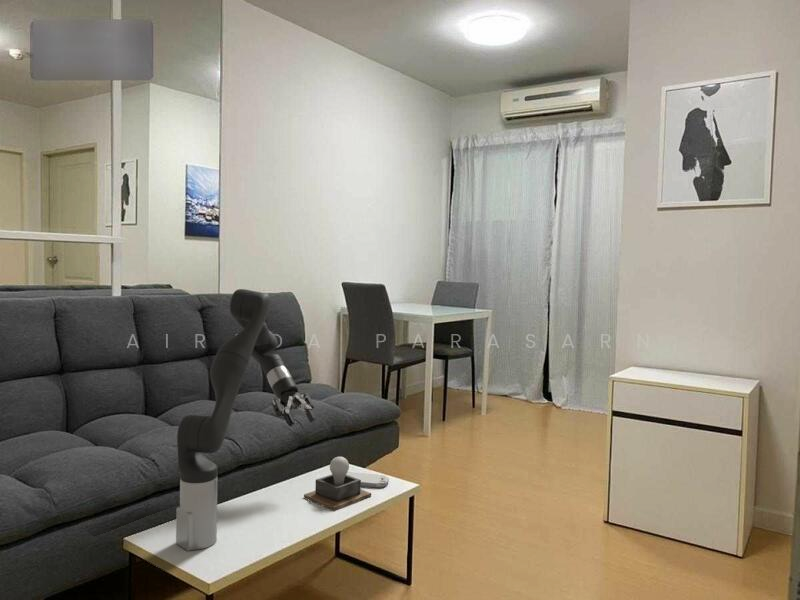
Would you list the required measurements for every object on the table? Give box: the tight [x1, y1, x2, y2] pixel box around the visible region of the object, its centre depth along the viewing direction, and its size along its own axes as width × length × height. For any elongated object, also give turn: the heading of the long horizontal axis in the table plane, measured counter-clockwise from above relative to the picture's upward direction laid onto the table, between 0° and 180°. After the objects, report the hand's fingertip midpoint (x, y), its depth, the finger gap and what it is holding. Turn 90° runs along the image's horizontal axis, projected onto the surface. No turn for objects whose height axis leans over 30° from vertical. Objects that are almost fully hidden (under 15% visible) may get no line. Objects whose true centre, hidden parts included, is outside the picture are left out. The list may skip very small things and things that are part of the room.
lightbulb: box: [329, 456, 350, 486], centre depth 193 cm, size 6×6×11 cm
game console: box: [346, 471, 390, 489], centre depth 206 cm, size 18×2×8 cm
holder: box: [303, 474, 372, 511], centre depth 192 cm, size 16×14×6 cm
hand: (302, 423), depth 197 cm, fingers open, 8 cm apart
